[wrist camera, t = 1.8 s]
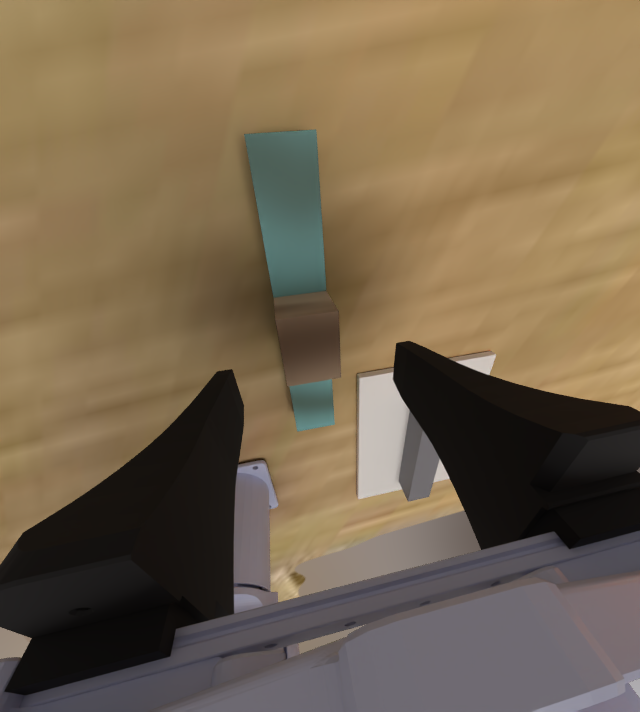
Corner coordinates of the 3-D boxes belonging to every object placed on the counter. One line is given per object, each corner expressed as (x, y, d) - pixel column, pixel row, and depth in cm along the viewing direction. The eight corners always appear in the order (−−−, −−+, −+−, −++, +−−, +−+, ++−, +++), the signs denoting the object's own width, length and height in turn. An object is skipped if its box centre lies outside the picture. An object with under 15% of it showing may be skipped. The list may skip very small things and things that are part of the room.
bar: (328, 403, 23) (344, 456, 18) (294, 409, 22) (301, 464, 18) (308, 139, 13) (331, 110, 8) (247, 143, 13) (237, 116, 8)
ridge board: (356, 494, 31) (364, 520, 28) (357, 373, 21) (369, 398, 19) (449, 473, 32) (465, 497, 30) (491, 350, 22) (519, 370, 20)
